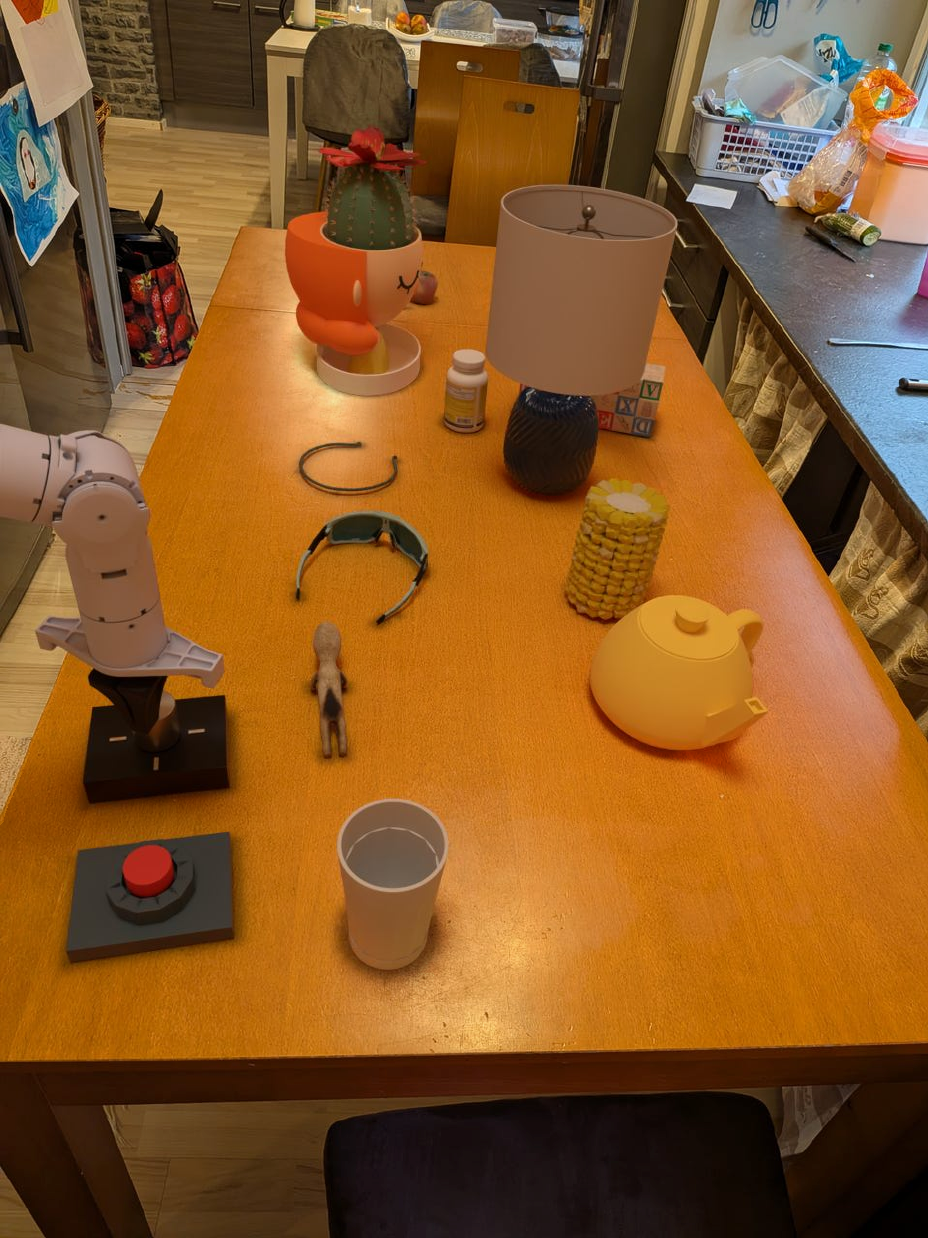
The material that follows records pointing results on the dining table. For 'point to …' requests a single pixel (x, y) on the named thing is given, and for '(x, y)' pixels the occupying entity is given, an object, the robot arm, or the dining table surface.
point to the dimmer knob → (161, 728)
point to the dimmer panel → (158, 754)
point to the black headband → (344, 488)
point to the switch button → (148, 871)
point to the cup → (391, 879)
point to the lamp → (571, 318)
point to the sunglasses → (370, 529)
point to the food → (616, 548)
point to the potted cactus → (359, 270)
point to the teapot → (679, 673)
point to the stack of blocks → (631, 404)
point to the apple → (426, 288)
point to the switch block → (151, 900)
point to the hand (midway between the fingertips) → (145, 724)
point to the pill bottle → (466, 392)
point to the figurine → (329, 686)
